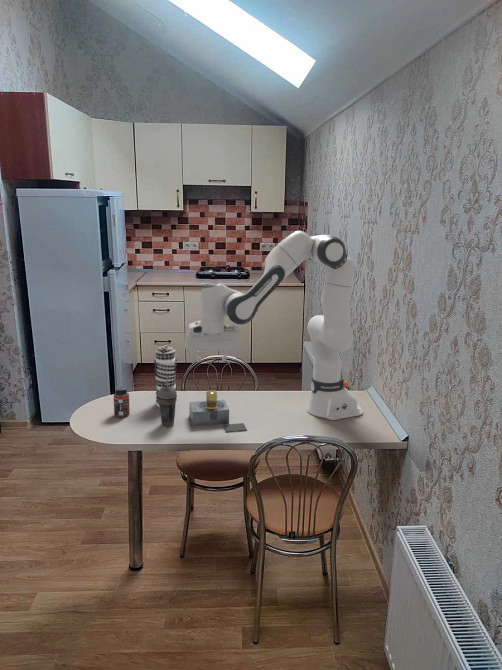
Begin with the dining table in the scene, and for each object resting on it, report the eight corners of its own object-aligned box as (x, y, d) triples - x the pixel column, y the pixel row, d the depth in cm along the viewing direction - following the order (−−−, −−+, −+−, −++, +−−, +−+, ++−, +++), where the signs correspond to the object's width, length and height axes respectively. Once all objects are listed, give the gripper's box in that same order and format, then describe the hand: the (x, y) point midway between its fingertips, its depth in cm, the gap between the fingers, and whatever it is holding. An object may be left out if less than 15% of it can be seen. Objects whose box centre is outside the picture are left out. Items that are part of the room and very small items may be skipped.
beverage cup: (175, 419, 204) (174, 370, 199) (179, 427, 197) (178, 377, 192) (156, 421, 201) (155, 372, 196) (160, 429, 195) (159, 379, 190)
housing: (224, 413, 210) (224, 399, 209) (229, 424, 201) (229, 409, 199) (189, 416, 207) (189, 402, 206) (192, 426, 198) (192, 412, 196)
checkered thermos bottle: (157, 399, 223) (156, 343, 216) (179, 400, 223) (178, 344, 216) (153, 408, 214) (151, 349, 208) (175, 408, 214) (174, 350, 207)
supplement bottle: (124, 419, 203) (123, 391, 200) (111, 416, 205) (109, 389, 202) (132, 413, 209) (131, 386, 206) (119, 411, 210) (118, 384, 207)
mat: (243, 424, 201) (243, 423, 201) (247, 430, 196) (247, 429, 195) (223, 425, 199) (223, 424, 199) (226, 432, 194) (226, 431, 194)
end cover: (216, 412, 207) (216, 389, 204) (218, 417, 202) (219, 394, 199) (204, 413, 205) (204, 390, 203) (206, 418, 201) (206, 395, 198)
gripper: (237, 323, 200) (236, 358, 203) (184, 324, 195) (184, 359, 199) (241, 327, 194) (240, 363, 197) (186, 328, 189) (185, 365, 193)
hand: (211, 361), depth 198 cm, fingers open, 8 cm apart
